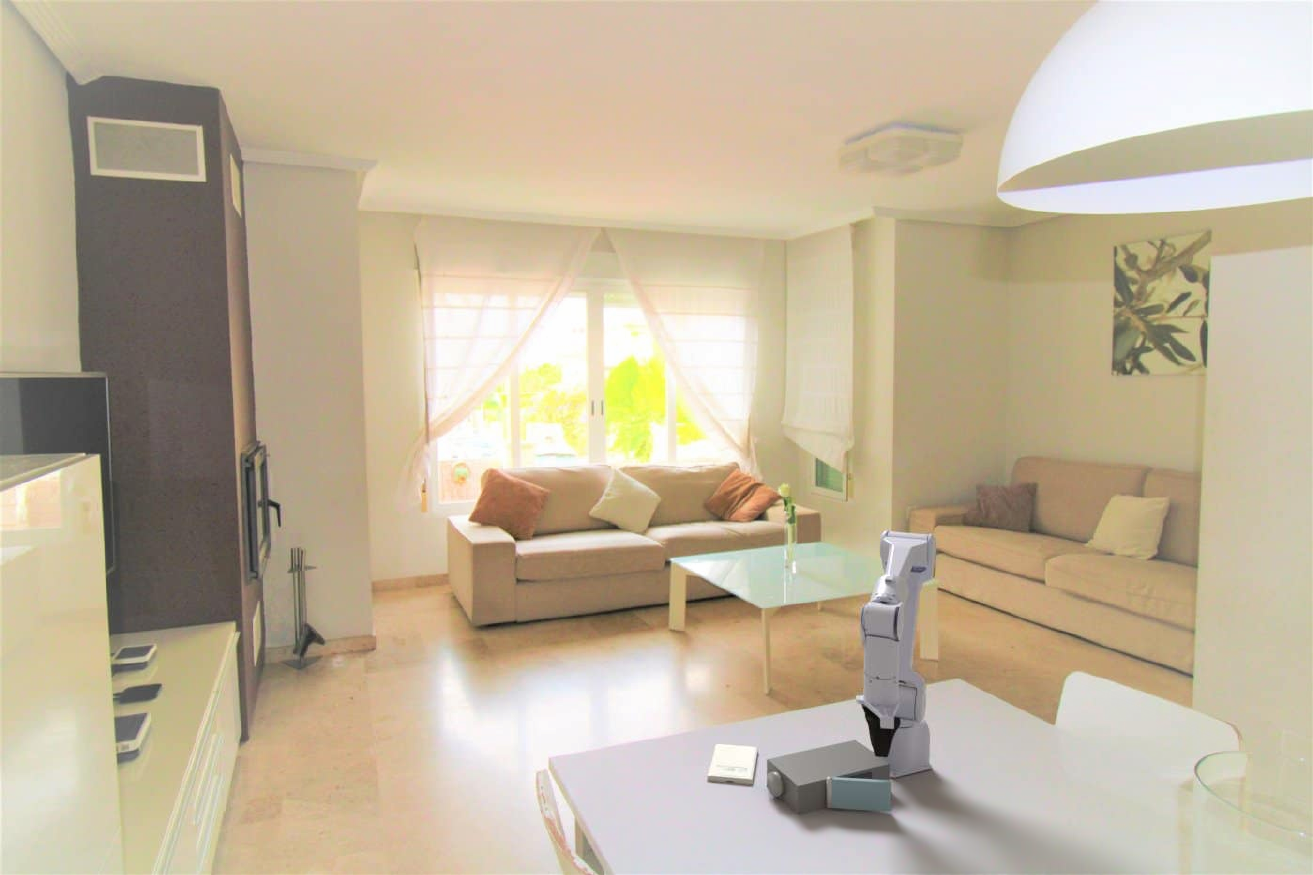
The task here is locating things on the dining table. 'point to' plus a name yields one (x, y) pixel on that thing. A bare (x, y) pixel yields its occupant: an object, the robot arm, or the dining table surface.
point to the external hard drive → (733, 764)
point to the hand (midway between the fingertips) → (879, 751)
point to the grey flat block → (821, 773)
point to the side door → (859, 794)
